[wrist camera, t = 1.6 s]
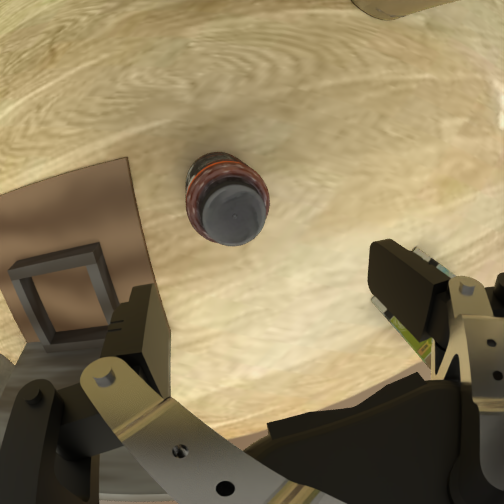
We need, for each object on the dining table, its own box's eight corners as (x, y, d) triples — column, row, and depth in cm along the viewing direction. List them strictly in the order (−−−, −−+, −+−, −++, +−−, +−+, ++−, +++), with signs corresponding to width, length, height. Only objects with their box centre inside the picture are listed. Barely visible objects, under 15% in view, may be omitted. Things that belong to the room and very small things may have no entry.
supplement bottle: (172, 180, 28) (163, 213, 18) (221, 138, 27) (241, 145, 17) (213, 224, 30) (228, 278, 20) (260, 185, 30) (299, 219, 19)
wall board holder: (-24, 205, 23) (-148, 294, 4) (127, 157, 26) (10, 230, 7) (34, 348, 31) (-15, 477, 13) (170, 331, 34) (176, 500, 15)
